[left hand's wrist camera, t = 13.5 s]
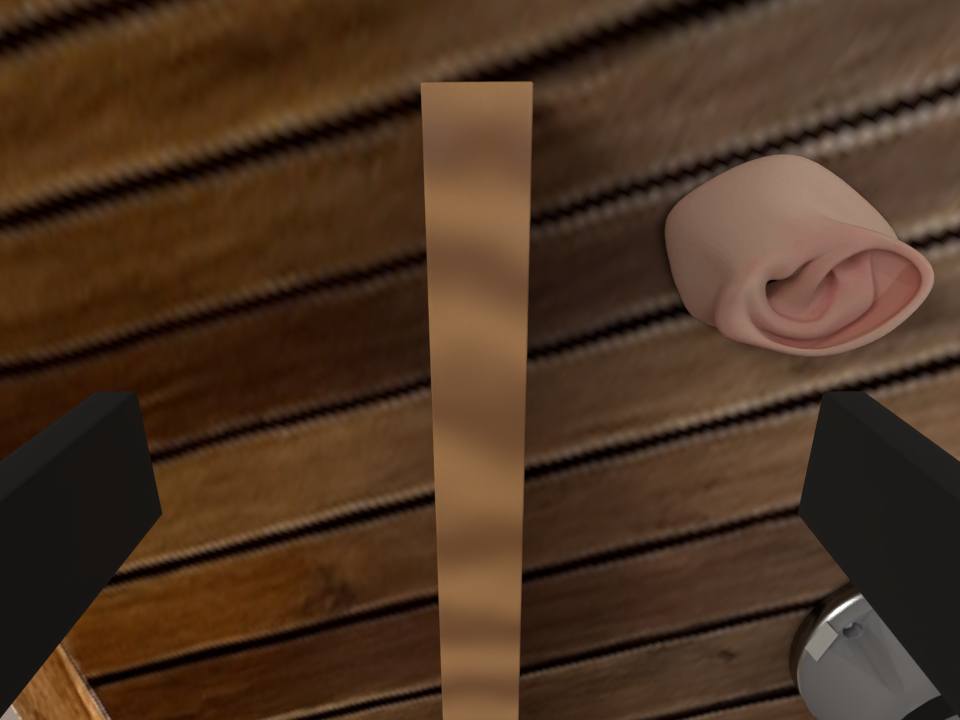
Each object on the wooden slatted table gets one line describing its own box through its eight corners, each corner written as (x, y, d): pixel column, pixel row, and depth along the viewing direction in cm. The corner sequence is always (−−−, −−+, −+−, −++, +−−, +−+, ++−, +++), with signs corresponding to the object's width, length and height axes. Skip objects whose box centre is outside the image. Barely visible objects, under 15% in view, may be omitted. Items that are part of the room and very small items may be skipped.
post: (434, 89, 35) (420, 82, 27) (521, 88, 35) (533, 81, 27) (453, 792, 55) (449, 908, 47) (509, 792, 55) (514, 908, 47)
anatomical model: (644, 261, 34) (827, 95, 31) (628, 246, 38) (790, 97, 35) (790, 420, 37) (967, 284, 35) (762, 392, 41) (920, 267, 38)
